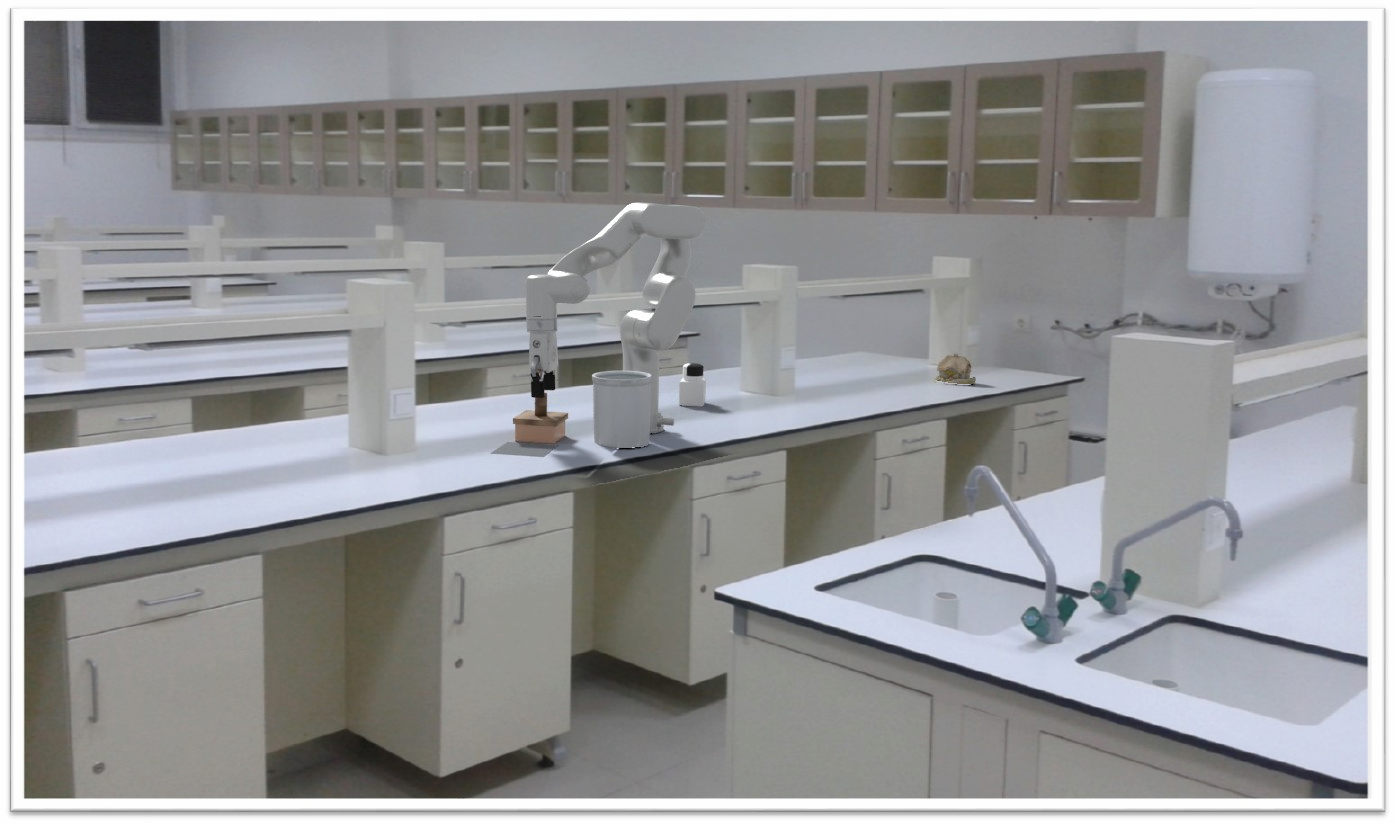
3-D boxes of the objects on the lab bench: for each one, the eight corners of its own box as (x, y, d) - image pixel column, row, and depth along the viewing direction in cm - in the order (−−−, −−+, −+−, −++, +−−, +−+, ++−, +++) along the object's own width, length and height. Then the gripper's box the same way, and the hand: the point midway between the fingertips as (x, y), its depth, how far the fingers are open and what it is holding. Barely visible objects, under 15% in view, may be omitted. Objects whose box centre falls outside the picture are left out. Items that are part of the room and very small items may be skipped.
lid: (568, 418, 319) (568, 390, 318) (556, 426, 308) (556, 398, 307) (526, 415, 321) (526, 388, 319) (512, 423, 310) (512, 395, 309)
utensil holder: (578, 444, 313) (579, 374, 309) (615, 435, 325) (616, 367, 322) (626, 453, 305) (627, 381, 301) (662, 443, 317) (663, 374, 314)
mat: (558, 447, 308) (558, 445, 308) (543, 459, 296) (543, 456, 295) (507, 444, 310) (507, 441, 310) (490, 455, 298) (490, 453, 297)
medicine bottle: (705, 402, 374) (706, 362, 372) (703, 407, 367) (704, 366, 365) (681, 401, 375) (682, 361, 372) (678, 405, 368) (679, 365, 365)
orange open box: (565, 437, 320) (565, 418, 319) (554, 446, 310) (554, 426, 309) (527, 435, 321) (527, 416, 320) (515, 443, 311) (515, 423, 310)
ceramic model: (928, 382, 423) (930, 353, 421) (939, 378, 432) (941, 349, 431) (969, 387, 416) (971, 357, 414) (979, 383, 426) (981, 353, 424)
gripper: (546, 330, 301) (548, 401, 305) (566, 321, 318) (567, 387, 321) (516, 329, 302) (518, 399, 306) (537, 320, 319) (538, 386, 323)
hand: (543, 393), depth 314 cm, fingers open, 9 cm apart
